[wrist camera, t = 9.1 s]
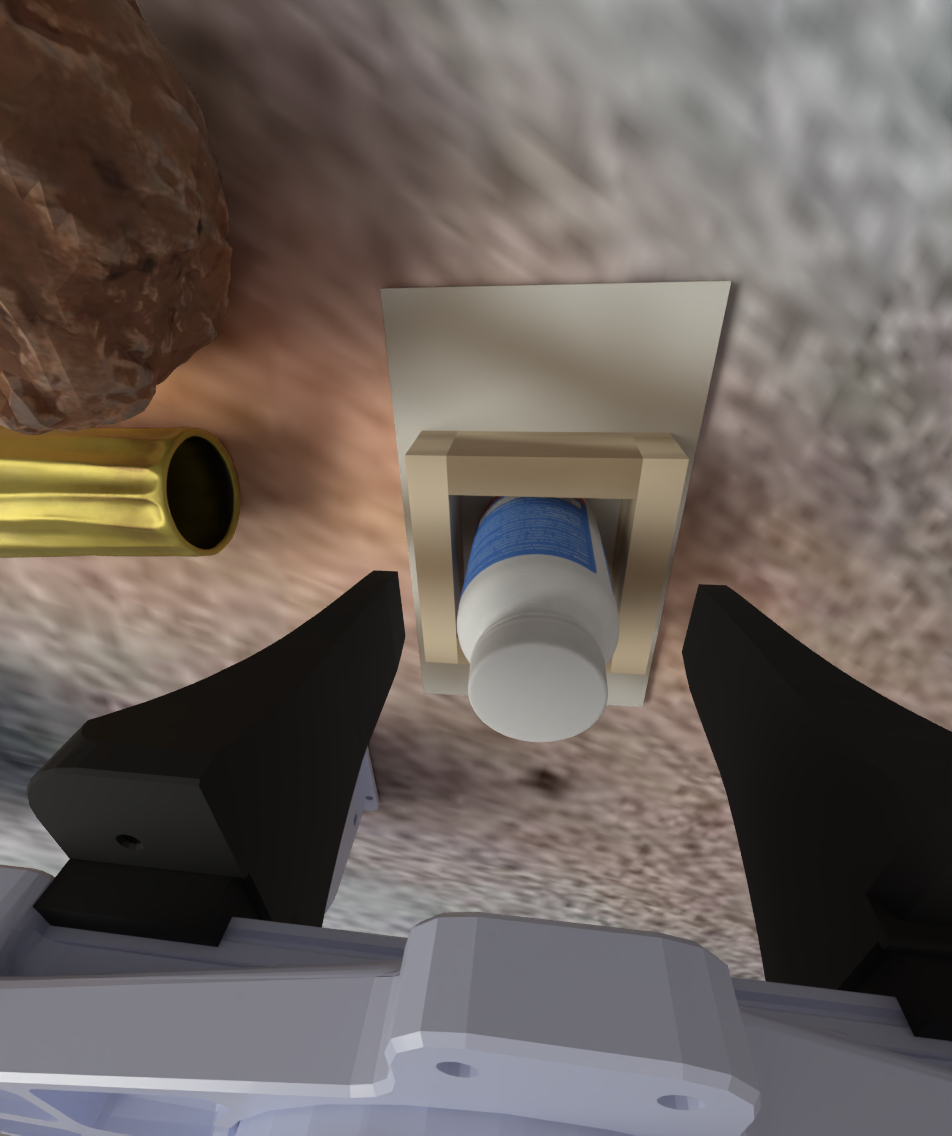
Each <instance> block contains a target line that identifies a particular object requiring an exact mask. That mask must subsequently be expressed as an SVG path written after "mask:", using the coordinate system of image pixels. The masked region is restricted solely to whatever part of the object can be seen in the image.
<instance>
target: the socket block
mask: <svg viewBox="0 0 952 1136" xmlns="http://www.w3.org/2000/svg"><path fill="white" fill-rule="evenodd" d="M730 285H731V281H687V282H641V283H595V284H549V285H503V286H457V287H412V288H381V289H380V292H381V302H382V311H383V320H384V330H385V339H386V348H387V357H388V367H389V376H390V385H391V394H392V404H393V413H394V422H395V432H396V441H397V450H398V459H399V469H400V478H401V487H402V497H403V506H404V515H405V524H406V534H407V543H408V552H409V562H410V571H411V580H412V589H413V599H414V608H415V617H416V627H417V636H418V645H419V654H420V664H421V673H422V682H423V692H424V693H432V694H448V695H463V696H469V695H468V681H469V673H470V663H469V661H468V660H467V658H466V657H465V655H464V653H463V651H462V649H461V646H460V642H459V638H458V633H457V615H458V609H459V602H460V598H461V593H462V589H463V585H464V582H465V576H466V572H467V568H468V563H469V559H470V554H471V550H472V545H473V540H474V535H475V531H476V526H477V523H478V520H479V517H480V515H481V513H482V511H483V509H484V507H485V506H486V505H487V503H488V502H489V501H490V499H491V498H492V497H493V496H515V497H559V498H585V500H586V501H587V502H588V503H589V505H590V506H591V508H592V509H593V511H594V513H595V515H596V518H597V520H598V523H599V527H600V532H601V536H602V541H603V546H604V550H605V555H606V560H607V564H608V569H609V573H610V578H611V583H612V587H613V591H614V595H615V600H616V605H617V610H618V615H619V639H618V643H617V647H616V650H615V652H614V654H613V656H612V658H611V660H610V661H609V663H608V664H607V665H606V676H607V686H608V699H607V703H606V705H616V706H631V707H643V702H644V697H645V693H646V688H647V683H648V678H649V673H650V669H651V664H652V659H653V654H654V649H655V645H656V640H657V635H658V630H659V626H660V621H661V616H662V611H663V606H664V602H665V597H666V592H667V587H668V582H669V578H670V573H671V568H672V563H673V558H674V554H675V549H676V544H677V539H678V535H679V530H680V525H681V520H682V515H683V511H684V506H685V501H686V496H687V491H688V487H689V482H690V477H691V472H692V467H693V463H694V458H695V453H696V448H697V443H698V439H699V434H700V429H701V424H702V420H703V415H704V410H705V405H706V400H707V396H708V391H709V386H710V381H711V376H712V372H713V367H714V362H715V357H716V352H717V348H718V343H719V338H720V333H721V329H722V324H723V319H724V314H725V309H726V305H727V300H728V295H729V290H730Z"/></svg>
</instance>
